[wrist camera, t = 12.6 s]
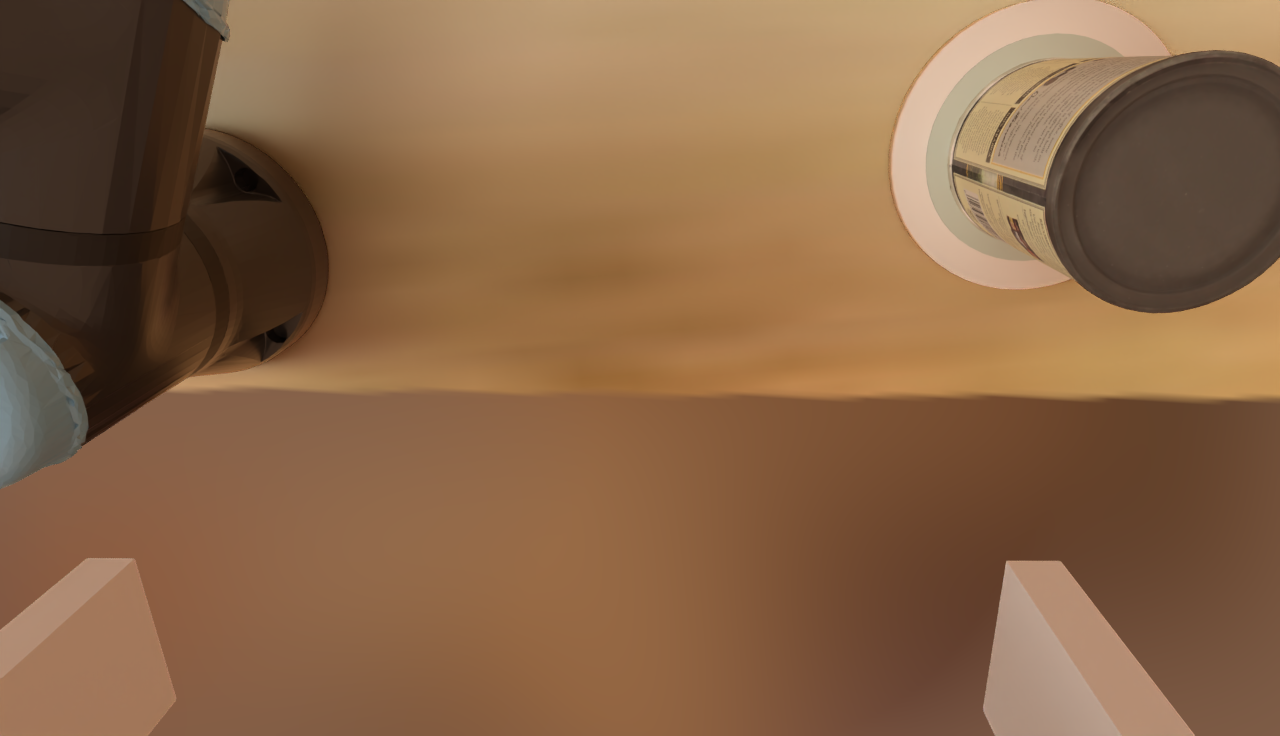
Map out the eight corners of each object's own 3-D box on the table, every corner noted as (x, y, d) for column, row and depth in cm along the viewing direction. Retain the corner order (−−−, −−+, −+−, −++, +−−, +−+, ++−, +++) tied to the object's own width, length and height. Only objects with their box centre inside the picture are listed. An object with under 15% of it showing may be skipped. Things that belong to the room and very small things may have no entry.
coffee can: (1175, 106, 44) (1388, 124, 30) (1061, 272, 47) (1208, 352, 34) (1014, 20, 42) (1163, 0, 29) (910, 196, 46) (1001, 250, 33)
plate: (878, 286, 49) (883, 292, 48) (900, 3, 44) (907, 1, 42) (1144, 282, 48) (1157, 288, 47) (1202, -7, 43) (1219, -9, 42)
